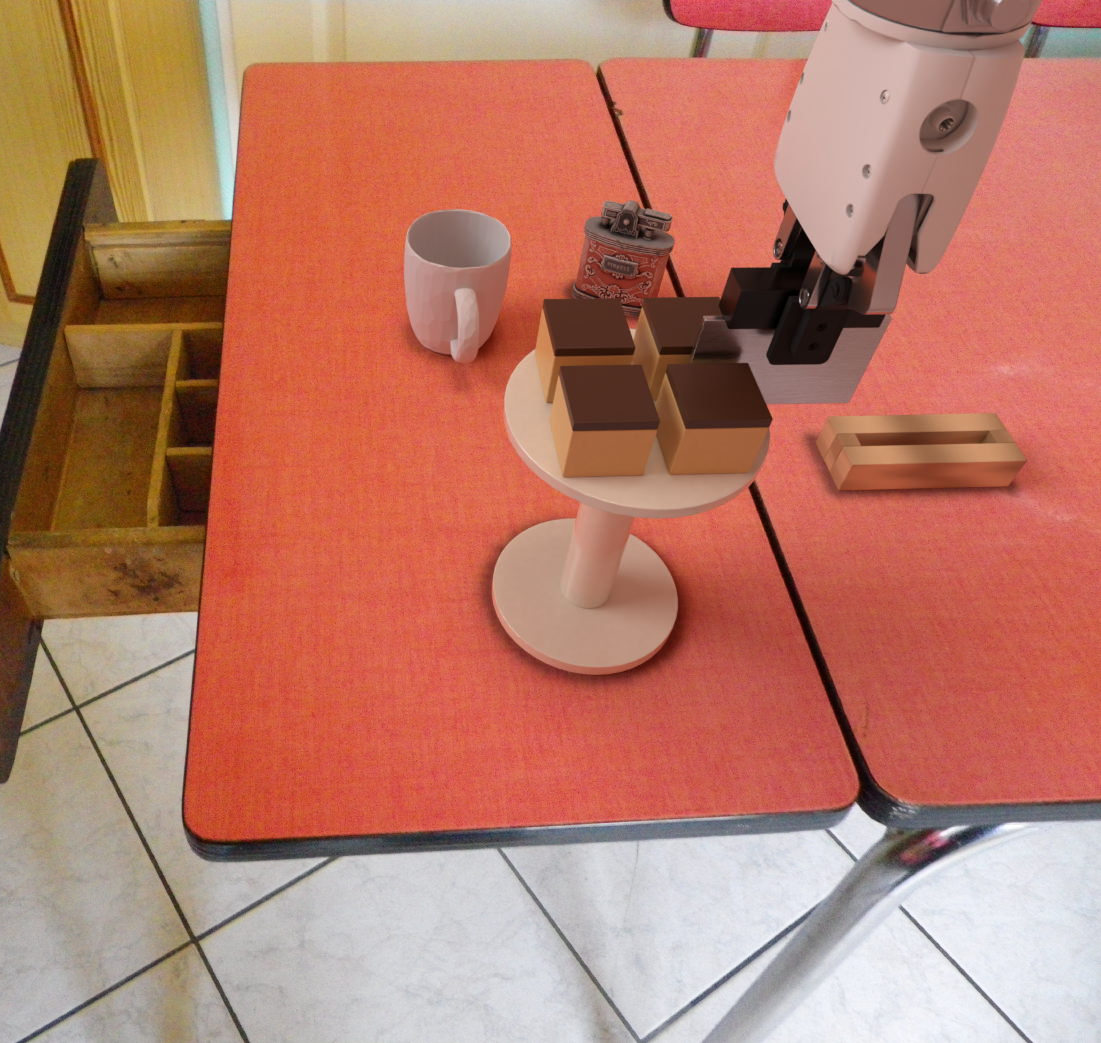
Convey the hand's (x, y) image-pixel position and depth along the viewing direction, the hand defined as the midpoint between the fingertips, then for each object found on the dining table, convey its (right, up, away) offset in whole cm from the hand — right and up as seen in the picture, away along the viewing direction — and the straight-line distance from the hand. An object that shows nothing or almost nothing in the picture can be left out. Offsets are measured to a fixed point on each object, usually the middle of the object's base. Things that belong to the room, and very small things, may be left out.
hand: (787, 342), depth 51 cm
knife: (0, -3, +3) cm, 4 cm away
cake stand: (-8, -15, +17) cm, 24 cm away
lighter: (-1, +11, +40) cm, 41 cm away
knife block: (+21, -5, +26) cm, 34 cm away
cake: (-7, -3, +3) cm, 9 cm away
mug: (-16, +6, +35) cm, 39 cm away
